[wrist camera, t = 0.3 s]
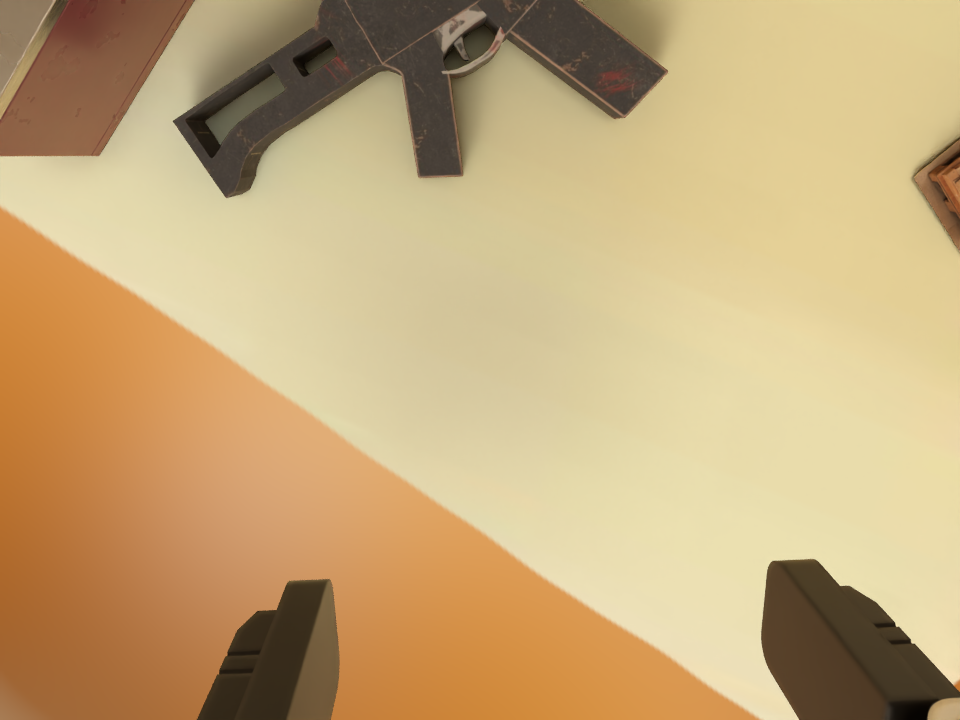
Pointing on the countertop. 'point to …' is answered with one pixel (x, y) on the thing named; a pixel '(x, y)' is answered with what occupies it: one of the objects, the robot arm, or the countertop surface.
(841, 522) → the countertop surface
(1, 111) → the lid
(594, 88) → the toy gun
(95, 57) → the open wooden cubby
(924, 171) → the sculpture
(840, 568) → the countertop surface
